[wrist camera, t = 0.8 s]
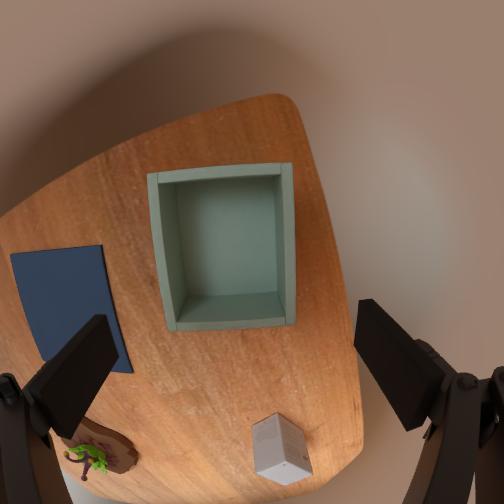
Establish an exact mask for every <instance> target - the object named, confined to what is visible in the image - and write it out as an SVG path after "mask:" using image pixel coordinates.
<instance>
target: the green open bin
mask: <svg viewBox="0 0 504 504" xmlns="http://www.w3.org/2000/svg"><path fill="white" fill-rule="evenodd" d="M147 184H148V197H149V209H150V219H151V228H152V237H153V245H154V252H155V259H156V266H157V273H158V279H159V285H160V291H161V297H162V302H163V307H164V313H165V318H166V323H167V327H168V331H207V330H232V329H250V328H264V327H277V326H285V325H295V324H296V245H295V209H294V185H293V165H292V163H291V162H290V163H258V164H240V165H225V166H213V167H201V168H191V169H182V170H174V171H165V172H158V173H151V174H147Z"/></svg>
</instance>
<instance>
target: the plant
mask: <svg viewBox="0 0 504 504" xmlns="http://www.w3.org/2000/svg"><path fill="white" fill-rule="evenodd" d="M61 440H62V441H63V443H64V444H65V445H66V446H67V447H68V448H69V449H68V450H70V451H72V452H74V453H75V454H76V455H78V460H72V459H70V458H69V453H68V452H67V451H65V452H64V456H65V457H66V459H68V460H69V461H71V462H75V463H81V462H82V464H83V465H84V466H85V467H84V471H83V476H82V477H81V479H82V480H83V481H87V479H88V478H87V477H86V474H87V471H88V470H89V468H90V467H91V465H92V466H93V468H94V469H95V470H97V468H98V467H99V468H100V469H101V470H102V471H103V472H105V473H107V471H106V469H107V470H110V471H112V472H115V473H118V474H122V473H125V472H127V471H129V468H130V466H131V465H136V463H137V460H138V458H137V457H136V456H137V451H136V450H134V449H133V448H131V446H132V443H131V442H130V441H129V440H128V439H127V438H125V437H124V436H123V435H121V434H119V433H117V432H115V431H113V430H110V429H107V428H104V427H102V426H100V425H98V424H96V423H94V422H92V421H90V420H88V419H87V418H85V417H83V419H82V421H81V422H80V424H79V426H78V428H77V430H76V432H75V433H74V435H73V437H72V439H71V440H68V439H65V438H62V437H61Z"/></svg>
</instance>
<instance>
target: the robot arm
mask: <svg viewBox="0 0 504 504" xmlns="http://www.w3.org/2000/svg"><path fill="white" fill-rule="evenodd" d="M354 347H355V348H356V350H357V352H358V353H359V354H360V356H361V358H362V359H363V361H364V363H365V364H366V365H367V367H368V369H369V370H370V372H371V374H372V375H373V377H374V378H375V380H376V381H377V383H378V385H379V386H380V388H381V390H382V391H383V393H384V394H385V396H386V398H387V400H388V401H389V403H390V404H391V406H392V408H393V409H394V411H395V413H396V414H397V416H398V418H399V419H400V421H401V423H402V425H403V426H404V428H405V430H406V431H410V430H413V429H415V428H417V427H420V426H422V425H423V424H424V422H425V420H426V418H427V416H428V417H429V418H430V420H431V421H432V422H431V424H430V426H429V427H428V429H427V431H426V433H425V434H424V436H423V439H425V437H426V439H425V443H424V446H423V450H422V453H421V456H420V459H419V462H418V465H417V468H416V471H415V473H414V476H413V479H412V481H411V484H410V487H409V489H408V491H407V494H406V496H405V498H404V500H403V503H402V504H467V502H468V498H469V494H470V490H471V485H472V481H473V476H474V470H475V489H476V504H504V366H501V367H497V368H496V369H495V370H494V372H493V374H492V376H491V378H488V379H482V380H478V379H477V377H476V376H474V375H472V374H470V373H457V372H456V371H455V370H454V369H453V368H452V367H451V366H450V365H449V364H448V363H447V362H446V361H445V360H444V359H443V358H442V357H441V356H440V355H439V354H438V353H437V352H436V351H435V350H434V349H433V348H432V347H431V346H430V345H429V344H428V343H426V342H424V341H422V340H420V339H417V340H413V339H412V338H411V337H410V335H409V334H407V332H406V331H405V330H403V329H402V327H401V326H399V324H398V323H396V322H395V320H394V319H393V318H391V317H390V316H389V315H388V314H387V313H386V312H385V311H384V310H383V309H382V308H381V307H380V306H379V305H378V304H377V303H376V302H375V301H374V300H373V299H365V300H359V304H358V315H357V323H356V331H355V338H354ZM118 358H119V354H118V351H117V348H116V345H115V342H114V339H113V336H112V332H111V329H110V326H109V322H108V319H107V315H106V314H95V315H94V316H93V317H92V318H91V319H90V320H89V321H88V322H87V323H86V324H85V325H84V326H83V327H82V328H81V329H80V330H79V331H78V332H77V333H76V334H75V335H74V336H73V337H72V338H71V339H70V340H69V341H68V342H67V344H66V345H65V346H64V347H63V348H62V349H61V350H60V351H59V352H58V353H57V354H56V355H55V356H54V357H53V358H52V359H50V360H48V361H47V362H46V363H45V364H44V365H43V366H42V367H41V369H39V371H38V372H37V374H35V375H34V376H33V377H32V379H31V380H30V381H29V382H28V383H27V384H26V385H25V387H24V388H23V389H22V390H21V388H20V386H19V385H18V383H17V381H16V379H15V377H14V375H12V374H11V373H3V374H1V375H0V504H73V502H72V500H71V497H70V494H69V492H68V489H67V487H66V484H65V481H64V478H63V475H62V472H61V469H60V466H59V462H58V459H57V455H56V452H55V448H54V444H53V440H52V437H51V435H50V433H49V432H48V431H49V430H50V428H51V427H52V429H53V430H54V431H55V433H56V434H57V436H59V437H62V438H65V439H68V440H71V439H72V437H73V435H74V433H75V432H76V430H77V428H78V426H79V424H80V422H81V421H82V419H83V417H84V415H85V414H86V412H87V410H88V408H89V407H90V405H91V403H92V401H93V400H94V398H95V396H96V395H97V393H98V391H99V390H100V388H101V386H102V385H103V383H104V381H105V380H106V378H107V376H108V375H109V373H110V371H111V370H112V368H113V366H114V365H115V363H116V362H117V360H118ZM497 416H498V417H499V421H498V418H497Z"/></svg>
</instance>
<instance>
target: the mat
mask: <svg viewBox="0 0 504 504" xmlns="http://www.w3.org/2000/svg"><path fill="white" fill-rule="evenodd" d="M10 258H11V263H12V268H13V272H14V276H15V280H16V284H17V288H18V292H19V295H20V299H21V302H22V305H23V309H24V312H25V315H26V318H27V321H28V324H29V327H30V329H31V332H32V335H33V337H34V340H35V342H36V345H37V347H38V350H39V352H40V355H41V357H42V359H43V361H48V360H50V359H52V358H53V357H54V356H55V355H56V354H57V353H58V352H59V351H60V350H61V349H62V348H63V347H64V346H65V345H66V344H67V342H68V341H69V340H70V339H71V338H72V337H73V336H74V335H75V334H76V333H77V332H78V331H79V330H80V329H81V328H82V327H83V326H84V325H85V324H86V323H87V322H88V321H89V320H90V319H91V318H92V317H93V316H94V315H95V314H106V315H107V319H108V322H109V326H110V329H111V332H112V336H113V339H114V342H115V345H116V348H117V351H118V354H119V358H118V360H117V362H116V363H115V365H114V366H113V368H112V370H111V372H120V373H131V374H133V369H132V366H131V363H130V360H129V357H128V354H127V351H126V348H125V344H124V341H123V338H122V334H121V331H120V327H119V323H118V320H117V316H116V312H115V308H114V304H113V300H112V296H111V291H110V287H109V282H108V277H107V272H106V267H105V261H104V255H103V249H102V245H94V246H83V247H73V248H63V249H53V250H43V251H34V252H25V253H16V254H10Z"/></svg>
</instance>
